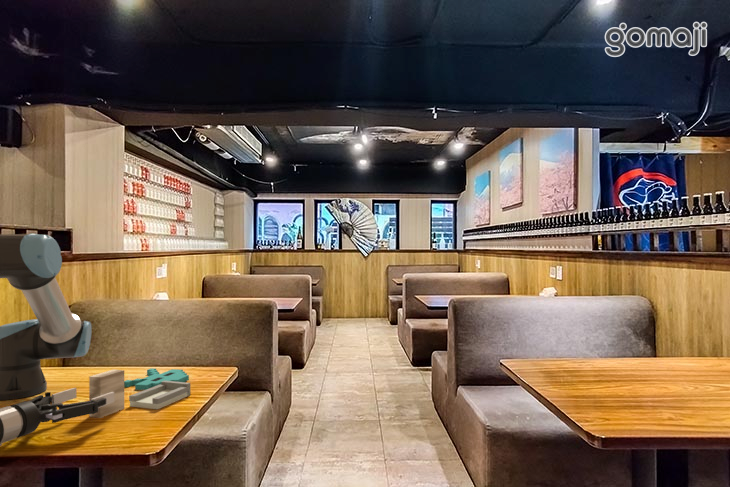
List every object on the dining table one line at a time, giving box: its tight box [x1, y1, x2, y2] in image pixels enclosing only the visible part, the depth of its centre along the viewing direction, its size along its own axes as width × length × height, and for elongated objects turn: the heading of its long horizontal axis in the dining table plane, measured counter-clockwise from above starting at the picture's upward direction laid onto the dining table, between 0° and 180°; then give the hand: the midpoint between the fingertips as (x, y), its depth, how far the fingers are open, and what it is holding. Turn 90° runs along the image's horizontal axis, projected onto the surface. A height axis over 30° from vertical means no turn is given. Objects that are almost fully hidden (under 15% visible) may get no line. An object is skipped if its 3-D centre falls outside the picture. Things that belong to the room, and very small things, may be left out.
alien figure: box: [124, 367, 190, 391], centre depth 162 cm, size 20×2×20 cm
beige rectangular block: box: [88, 369, 125, 419], centre depth 130 cm, size 4×8×11 cm, turn 161°
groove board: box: [128, 381, 191, 410], centre depth 140 cm, size 10×14×4 cm
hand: (94, 394), depth 126 cm, fingers open, 13 cm apart
